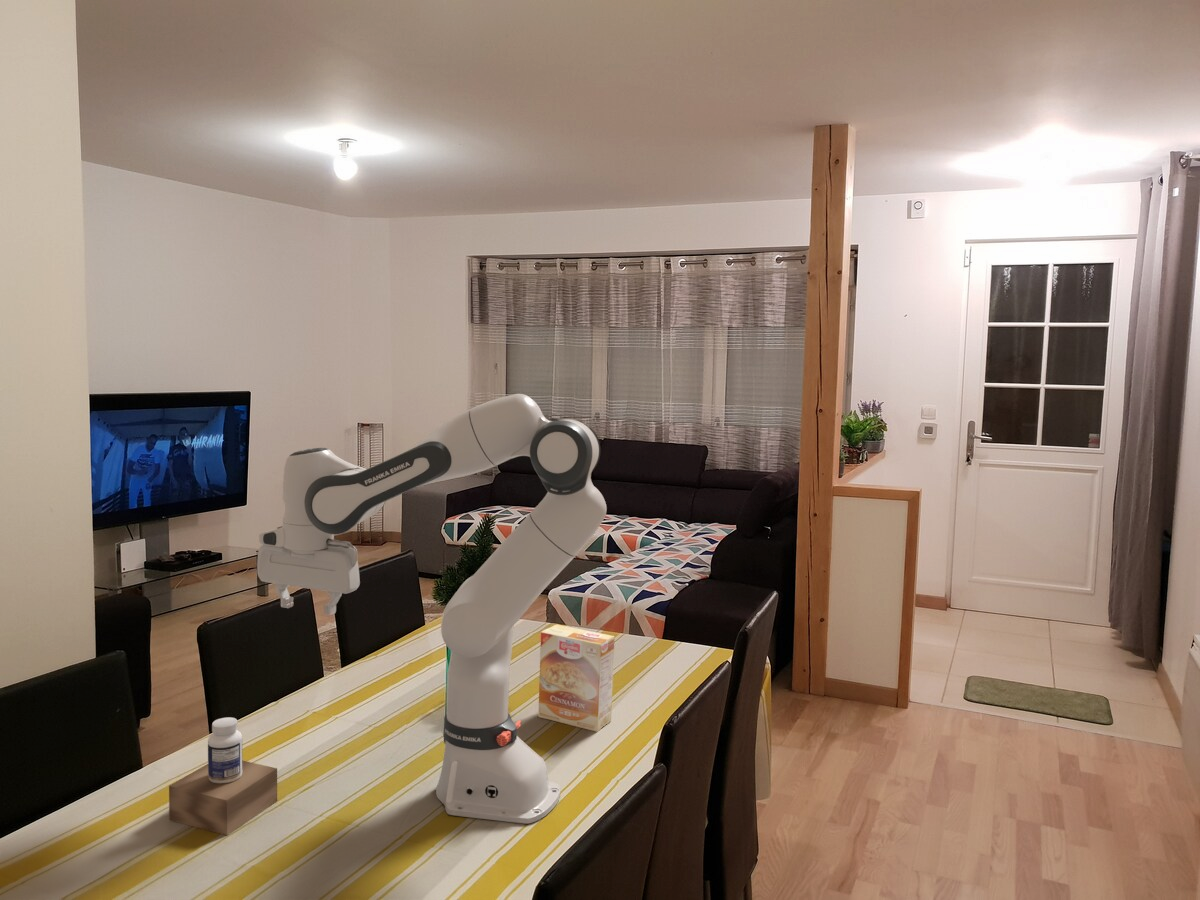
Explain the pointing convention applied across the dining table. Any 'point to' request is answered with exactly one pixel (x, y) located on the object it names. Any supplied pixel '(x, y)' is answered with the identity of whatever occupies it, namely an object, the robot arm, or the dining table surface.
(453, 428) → the robot arm
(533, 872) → the dining table surface
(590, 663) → the coffeecake box
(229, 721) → the pill bottle
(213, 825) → the walnut riser
